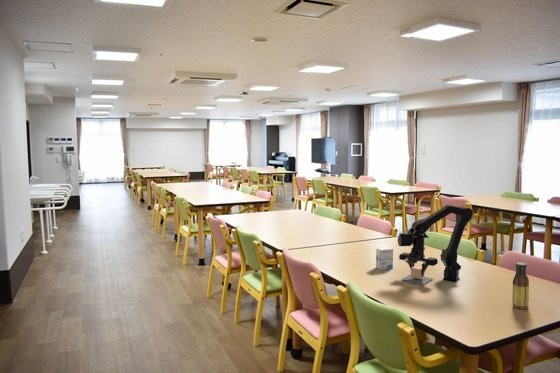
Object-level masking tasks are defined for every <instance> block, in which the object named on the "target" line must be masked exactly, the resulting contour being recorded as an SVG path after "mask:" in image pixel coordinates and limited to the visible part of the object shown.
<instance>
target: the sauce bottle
mask: <svg viewBox="0 0 560 373" xmlns="http://www.w3.org/2000/svg"><path fill="white" fill-rule="evenodd" d="M527 267H528V265H527V263H525V262H520V261H519V262H515V275H514V277H513V279H512V291H511V292H512V298H511V299H512V300H511V303H512V306H513V308H515V309H518V310H528V309H529V305H530V304H529V302H530V282H529V281H530V280H529V277H528V275H527Z"/></svg>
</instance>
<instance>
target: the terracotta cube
mask: <svg viewBox="0 0 560 373" xmlns="http://www.w3.org/2000/svg"><path fill="white" fill-rule="evenodd" d="M410 274H411V277H414V278H418V279H421V278H423V277H425V274H424V275H423V276H422V266H419V265H414V267H412V268H411V269H410Z"/></svg>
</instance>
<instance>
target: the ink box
mask: <svg viewBox="0 0 560 373" xmlns="http://www.w3.org/2000/svg"><path fill="white" fill-rule="evenodd" d="M375 250H376V251H375V252H376V253H375V254H376V255H375V257H376V258H375V268H376V269H377V270H379V271H385V270H391V269H393V268H394V267H393V266H394V248H391V247H388V246H385V247H377V248H376V249H375Z"/></svg>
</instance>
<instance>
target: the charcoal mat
mask: <svg viewBox="0 0 560 373" xmlns="http://www.w3.org/2000/svg"><path fill="white" fill-rule="evenodd" d="M402 280H404V281H403V282H406V281H408V282H407V283H411V282H412V284H415V283H416V285H419V286H425V285H427V284H429V283H430V282H432V281H433V280H434V278H432V277H428V276H424V277H423V278H421V279H418V278H414V277H411V273H410V274H409V275H406V276H405V277H403V278H401V281H402Z"/></svg>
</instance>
